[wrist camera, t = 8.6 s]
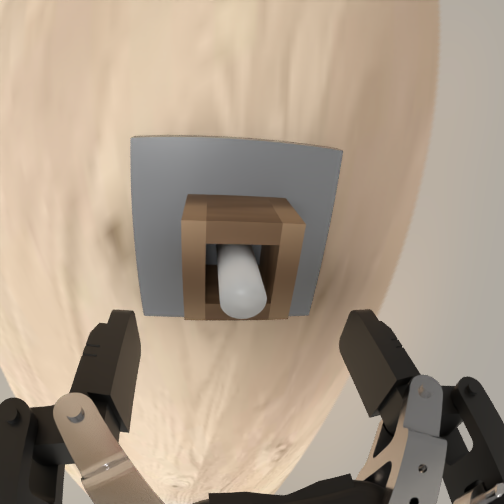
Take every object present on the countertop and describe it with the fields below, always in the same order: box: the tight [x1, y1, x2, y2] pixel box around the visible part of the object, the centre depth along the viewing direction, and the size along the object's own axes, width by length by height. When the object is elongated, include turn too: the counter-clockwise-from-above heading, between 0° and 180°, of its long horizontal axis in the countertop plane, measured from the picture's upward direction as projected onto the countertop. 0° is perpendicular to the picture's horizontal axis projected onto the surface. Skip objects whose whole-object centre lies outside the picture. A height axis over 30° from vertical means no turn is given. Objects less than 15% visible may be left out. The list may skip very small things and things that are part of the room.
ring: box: [181, 194, 306, 320], centre depth 16 cm, size 6×6×4 cm
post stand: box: [131, 135, 343, 319], centre depth 15 cm, size 12×12×7 cm
